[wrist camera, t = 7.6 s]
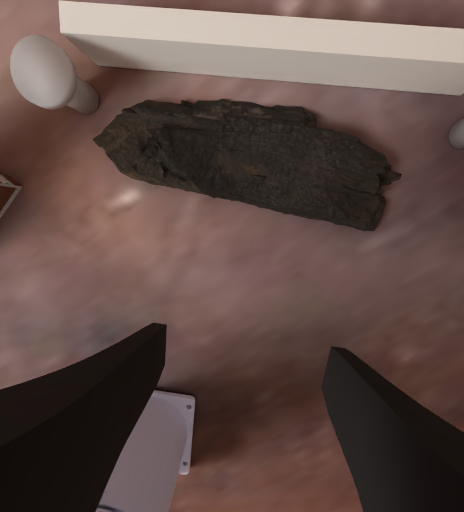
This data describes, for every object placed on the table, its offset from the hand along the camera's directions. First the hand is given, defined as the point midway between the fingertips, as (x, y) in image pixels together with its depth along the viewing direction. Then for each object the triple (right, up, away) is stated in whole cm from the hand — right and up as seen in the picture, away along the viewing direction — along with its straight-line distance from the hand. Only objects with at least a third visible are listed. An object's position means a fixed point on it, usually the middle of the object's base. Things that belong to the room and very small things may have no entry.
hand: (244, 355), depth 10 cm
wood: (+1, +12, +8) cm, 14 cm away
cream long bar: (+2, +15, +6) cm, 17 cm away
